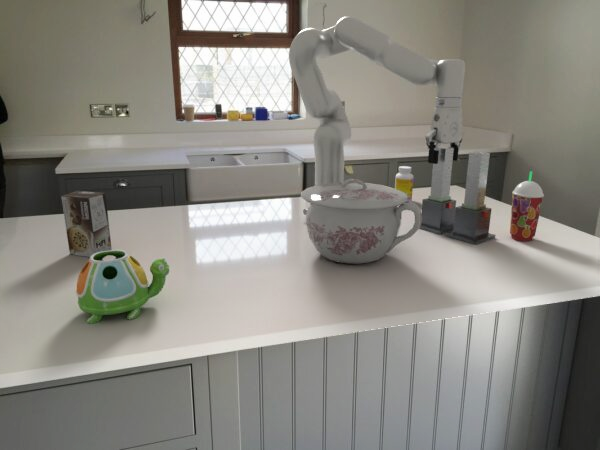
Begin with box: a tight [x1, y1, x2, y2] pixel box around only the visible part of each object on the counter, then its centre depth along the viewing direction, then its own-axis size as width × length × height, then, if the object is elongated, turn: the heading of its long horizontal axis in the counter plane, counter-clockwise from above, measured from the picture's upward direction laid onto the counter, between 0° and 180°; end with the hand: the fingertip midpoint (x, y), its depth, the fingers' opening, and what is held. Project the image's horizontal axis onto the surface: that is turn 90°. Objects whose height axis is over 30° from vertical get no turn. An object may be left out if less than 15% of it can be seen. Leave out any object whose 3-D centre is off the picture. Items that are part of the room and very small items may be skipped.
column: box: [427, 145, 454, 203], centre depth 153 cm, size 5×5×18 cm
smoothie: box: [509, 171, 545, 242], centre depth 145 cm, size 8×8×20 cm
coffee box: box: [61, 190, 113, 258], centre depth 131 cm, size 9×6×16 cm
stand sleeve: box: [419, 197, 457, 235], centre depth 156 cm, size 10×10×9 cm
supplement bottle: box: [394, 165, 414, 203], centre depth 189 cm, size 7×7×13 cm
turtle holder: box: [75, 249, 170, 324], centre depth 101 cm, size 12×18×12 cm
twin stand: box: [445, 150, 496, 245], centre depth 145 cm, size 10×10×25 cm
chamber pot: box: [300, 178, 422, 265], centre depth 130 cm, size 28×28×21 cm
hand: (442, 161), depth 151 cm, fingers open, 9 cm apart
